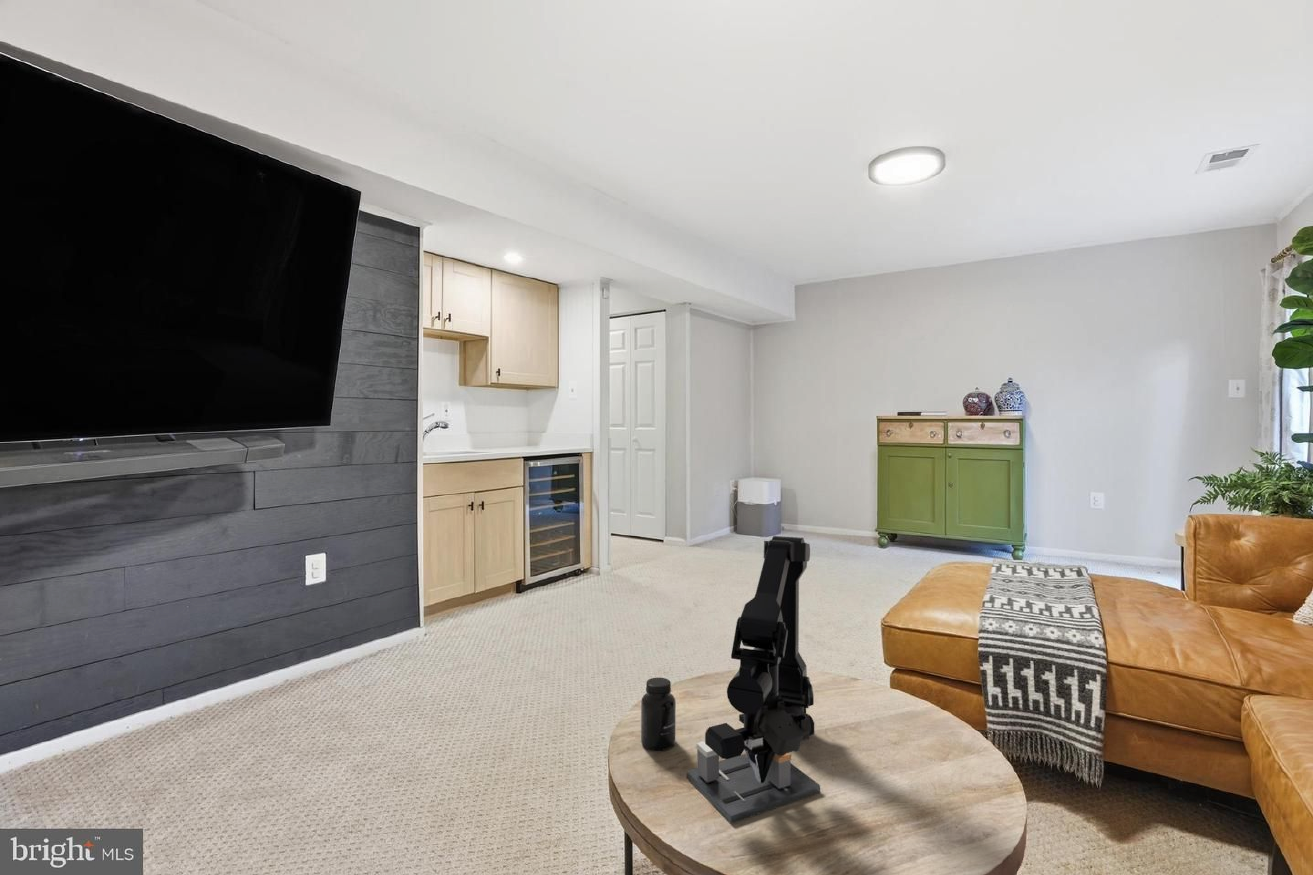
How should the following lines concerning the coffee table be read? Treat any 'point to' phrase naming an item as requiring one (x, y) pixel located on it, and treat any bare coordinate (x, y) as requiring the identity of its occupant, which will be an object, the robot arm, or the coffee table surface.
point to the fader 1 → (707, 762)
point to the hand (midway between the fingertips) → (760, 781)
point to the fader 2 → (780, 770)
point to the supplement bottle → (658, 715)
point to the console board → (749, 789)
